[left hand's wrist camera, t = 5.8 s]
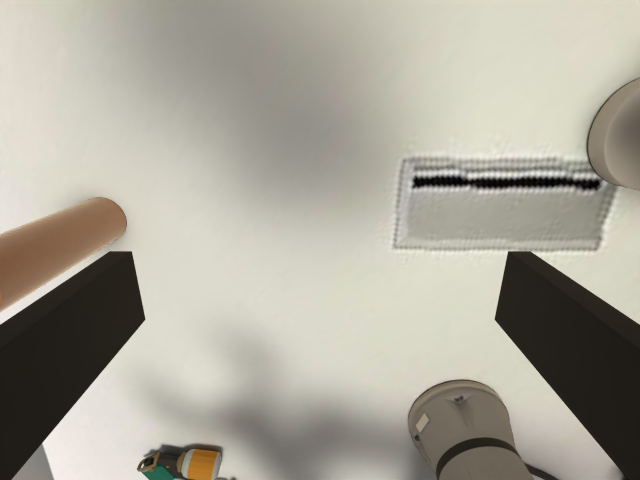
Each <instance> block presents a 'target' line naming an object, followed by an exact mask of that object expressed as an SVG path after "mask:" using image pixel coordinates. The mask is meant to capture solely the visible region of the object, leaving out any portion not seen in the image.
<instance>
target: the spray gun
mask: <svg viewBox="0 0 640 480" xmlns="http://www.w3.org/2000/svg"><path fill="white" fill-rule="evenodd" d="M221 459H222V456H221V454H220V452H216V451H208V450H200V449H191V450H190V451H188V452H183V453H182V455H181V456H180V457H177V456H173V455H168V454H163V453H161V452H158V453H157V455H154V456H151V457H148V458H146V459H143V460H142V461H141V462H140V464H139V465H138V468H137V470H138V471H139V472H140V471H141V472H142V473H143V474H144V475H145V476H146V477H147V478H148V479H149V480H215V479H216V478H217V476H218V473H219V469H220V465H221ZM143 463H144V466H143V468H141V466H142V464H143Z"/></svg>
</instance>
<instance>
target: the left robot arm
mask: <svg viewBox="0 0 640 480" xmlns="http://www.w3.org/2000/svg"><path fill="white" fill-rule="evenodd" d="M144 321H145V315H144V310H143V305H142V300H141V295H140V290H139V285H138V280H137V275H136V270H135V265H134V260H133V255H132V251H110V252H108V253H107V254H105V255H104V256H102V257H101V258H99V259H98V260H96V261H95V262H93V263H92V264H90V265H89V266H87V267H86V268H84V269H83V270H81V271H80V272H78V273H77V274H75V275H74V276H72V277H71V278H69V279H68V280H66V281H65V282H63V283H62V284H61V285H59V286H58V287H56V288H55V289H53V290H52V291H50V292H49V293H47V294H46V295H44V296H43V297H41V298H40V299H38V300H37V301H35V302H34V303H32V304H31V305H29V306H28V307H26V308H25V309H23V310H22V311H20V312H19V313H17V314H16V315H14V316H13V317H11V318H10V319H8V320H7V321H5V322H4V323H2V324H1V325H0V480H11V479H12V478H13V477H14V476H15V475H16V474H17V472H18V471H19V470H20V469H21V468H22V466H23V465H24V464H25V463H26V462H27V460H28V459H29V458H30V457H31V456H32V454H33V453H34V452H35V451H36V450H37V448H38V447H39V446H40V445H41V444H42V442H43V441H44V440H45V439H46V438H47V436H48V435H49V434H50V433H51V432H52V431H53V429H54V428H55V427H56V426H57V425H58V423H59V422H60V421H61V420H62V419H63V417H64V416H65V415H66V414H67V413H68V411H69V410H70V409H71V408H72V407H73V405H74V404H75V403H76V402H77V401H78V399H79V398H80V397H81V396H82V395H83V393H84V392H85V391H86V390H87V389H88V387H89V386H90V385H91V384H92V383H93V382H94V380H95V379H96V378H97V377H98V376H99V374H100V373H101V372H102V371H103V370H104V368H105V367H106V366H107V365H108V364H109V362H110V361H111V360H112V359H113V358H114V356H115V355H116V354H117V353H118V352H119V350H120V349H121V348H122V347H123V346H124V344H125V343H126V342H127V341H128V340H129V338H130V337H131V336H132V335H133V334H134V332H135V331H136V330H137V329H138V328H139V327H140V325H141V324H142V323H143V322H144ZM495 321H496V322H497V323H498V324H499V325H500V327H501V328H502V329H503V330H504V331H505V332H506V334H507V335H508V336H509V337H510V338H511V340H512V341H513V342H514V343H515V344H516V346H517V347H518V348H519V349H520V350H521V352H522V353H523V354H524V355H525V356H526V358H527V359H528V360H529V361H530V362H531V364H532V365H533V366H534V367H535V368H536V370H537V371H538V372H539V373H540V374H541V376H542V377H543V378H544V379H545V380H546V382H547V383H548V384H549V385H550V386H551V387H552V389H553V390H554V391H555V392H556V393H557V395H558V396H559V397H560V398H561V399H562V401H563V402H564V403H565V404H566V405H567V407H568V408H569V409H570V410H571V411H572V413H573V414H574V415H575V416H576V417H577V419H578V420H579V421H580V422H581V423H582V425H583V426H584V427H585V428H586V429H587V431H588V432H589V433H590V434H591V435H592V436H593V438H594V439H595V440H596V441H597V442H598V444H599V445H600V446H601V447H602V448H603V450H604V451H605V452H606V453H607V454H608V456H609V457H610V458H611V459H612V460H613V462H614V463H615V464H616V465H617V466H618V468H619V469H620V470H621V471H622V472H623V474H624V475H625V476H626V477H627V478H628V480H640V325H639V324H638V323H636V322H635V321H633V320H632V319H630V318H629V317H627V316H626V315H624V314H623V313H621V312H620V311H618V310H617V309H615V308H614V307H612V306H611V305H609V304H608V303H606V302H605V301H603V300H602V299H600V298H599V297H597V296H596V295H594V294H593V293H591V292H590V291H588V290H587V289H585V288H584V287H582V286H581V285H579V284H578V283H577V282H575V281H574V280H572V279H571V278H569V277H568V276H566V275H565V274H563V273H562V272H560V271H559V270H557V269H556V268H554V267H553V266H551V265H550V264H548V263H547V262H545V261H544V260H542V259H541V258H539V257H538V256H536V255H535V254H533V253H532V252H530V251H508V255H507V260H506V265H505V270H504V275H503V280H502V285H501V290H500V295H499V300H498V305H497V310H496V315H495Z"/></svg>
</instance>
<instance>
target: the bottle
mask: <svg viewBox="0 0 640 480" xmlns="http://www.w3.org/2000/svg"><path fill="white" fill-rule="evenodd" d="M125 229H126V217H125V214H124V212H123V211H122V209H121V208H120V207H119V206H118V205H117V204H116V203H114V202H113V201H111V200H109V199H106V198H99V197H98V198H92V199H89V200H87V201H84V202H82V203H79V204H76V205H74V206H71V207H69V208H66V209H63V210H61V211H58V212H56V213H53V214H50V215H48V216H45V217H43V218H40V219H38V220H35V221H32V222H30V223H27V224H25V225H22V226H19V227H17V228H14V229H12V230H9V231H6V232H4V233H1V234H0V312H2V311H4V310H5V309H7V308H8V307H10V306H12V305H13V304H15V303H16V302H18V301H19V300H21V299H23V298H24V297H26V296H27V295H29V294H31V293H32V292H34V291H35V290H37V289H38V288H40V287H42V286H43V285H45V284H46V283H48V282H50V281H51V280H53V279H54V278H56V277H57V276H59V275H61V274H62V273H64V272H65V271H67V270H69V269H70V268H72V267H73V266H75V265H76V264H78V263H80V262H81V261H83V260H84V259H86V258H88V257H89V256H91V255H92V254H94V253H95V252H97V251H99V250H100V249H102V248H103V247H105V246H107V245H108V244H110V243H111V242H113V241H114V240H116V239H118V238H119V237H121V236H122V235H123V233H124V232H125Z"/></svg>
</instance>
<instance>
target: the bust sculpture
mask: <svg viewBox="0 0 640 480" xmlns="http://www.w3.org/2000/svg"><path fill="white" fill-rule="evenodd" d="M588 152H589V158H590V161H591V164H592V166H593V168H594V170H595V171H596V172H597V174H598V175H599V176H600V177H602V178H603V179H604V180H606V181H607V182H610V183H612V184H615V185H619V186H623V187H627V188H631V189H635V190H640V78H639V79H636V80H634V81H632V82H630V83H628V84H627V85H625V86H624V87H622V88H621V89H620V90H618V91H617V92H616V93H615V94H614V95H613V96H612V97H611V98H610V99H609V100H608V101H607V102H606V103H605V104H604V106H603V107H602V108H601V110H600V111H599V113H598V115H597V117H596V119H595V121H594V123H593V125H592V128H591V131H590V135H589V142H588Z"/></svg>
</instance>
